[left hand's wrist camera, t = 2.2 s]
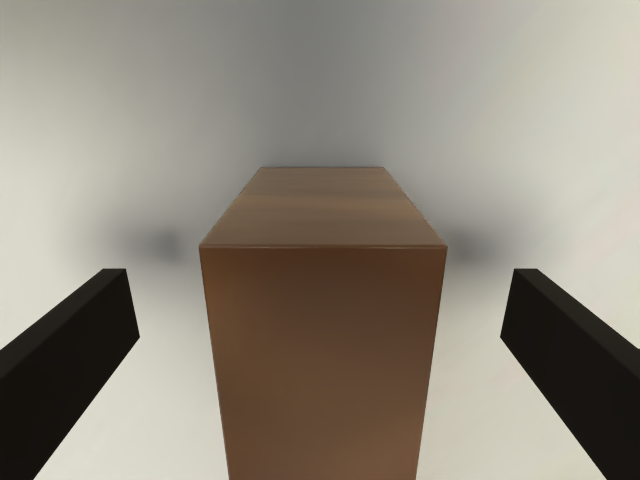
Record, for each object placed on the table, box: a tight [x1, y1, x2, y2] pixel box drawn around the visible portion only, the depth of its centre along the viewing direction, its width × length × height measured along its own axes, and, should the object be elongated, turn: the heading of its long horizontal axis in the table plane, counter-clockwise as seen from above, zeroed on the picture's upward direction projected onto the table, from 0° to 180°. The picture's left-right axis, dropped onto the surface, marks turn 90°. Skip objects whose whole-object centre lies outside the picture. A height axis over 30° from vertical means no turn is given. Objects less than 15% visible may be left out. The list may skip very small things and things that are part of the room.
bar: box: [199, 167, 448, 480], centre depth 17 cm, size 24×5×9 cm, turn 0°
